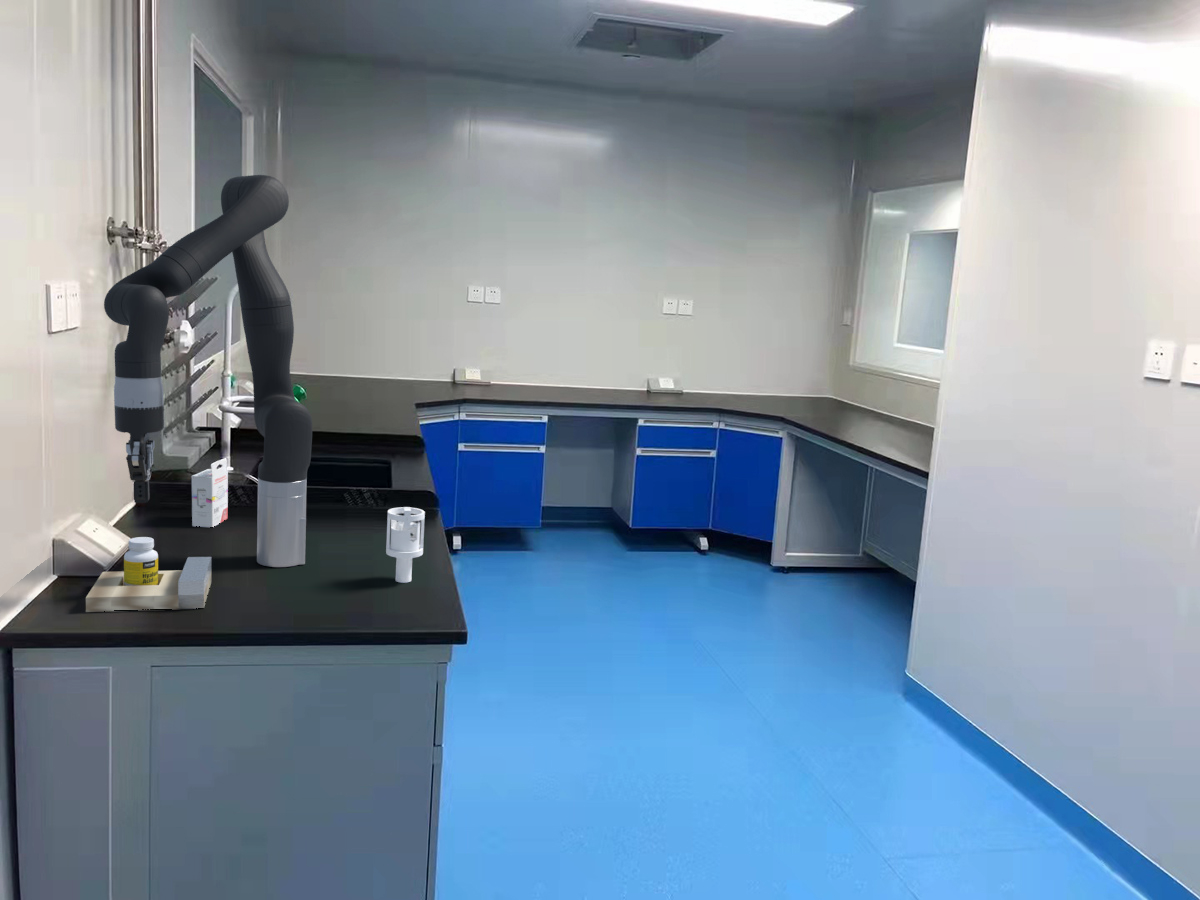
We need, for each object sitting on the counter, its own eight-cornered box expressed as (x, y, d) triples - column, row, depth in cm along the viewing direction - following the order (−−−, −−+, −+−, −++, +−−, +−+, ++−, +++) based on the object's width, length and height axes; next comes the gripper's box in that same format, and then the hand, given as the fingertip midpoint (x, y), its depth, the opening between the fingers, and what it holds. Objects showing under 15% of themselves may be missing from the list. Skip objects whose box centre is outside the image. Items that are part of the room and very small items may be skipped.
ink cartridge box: (207, 517, 216) (207, 455, 214) (228, 519, 216) (228, 457, 214) (190, 526, 208) (190, 462, 205) (212, 528, 208) (212, 463, 205)
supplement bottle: (144, 600, 161) (144, 545, 159) (117, 595, 162) (116, 541, 160) (164, 590, 166) (164, 537, 164) (138, 586, 167) (137, 534, 165)
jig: (211, 582, 172) (211, 556, 171) (203, 608, 159) (203, 580, 158) (102, 585, 166) (102, 558, 166) (86, 612, 153) (85, 583, 152)
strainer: (385, 586, 178) (388, 510, 175) (384, 574, 184) (387, 501, 182) (423, 585, 180) (426, 510, 177) (420, 574, 186) (423, 501, 184)
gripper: (158, 408, 153) (160, 510, 156) (168, 398, 165) (170, 492, 168) (107, 408, 151) (110, 511, 154) (121, 397, 163) (124, 493, 166)
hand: (142, 501), depth 161 cm, fingers closed
